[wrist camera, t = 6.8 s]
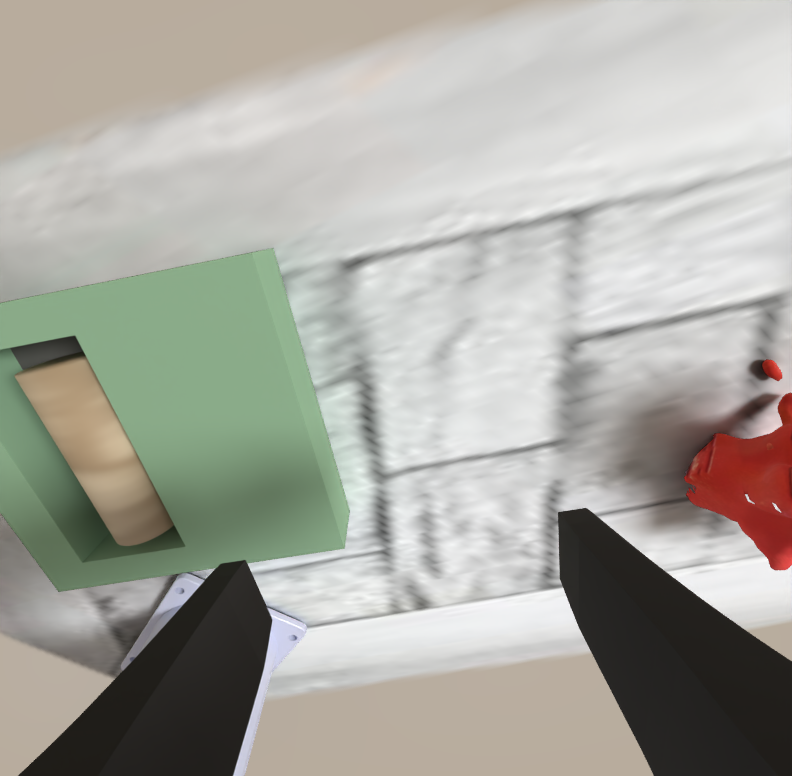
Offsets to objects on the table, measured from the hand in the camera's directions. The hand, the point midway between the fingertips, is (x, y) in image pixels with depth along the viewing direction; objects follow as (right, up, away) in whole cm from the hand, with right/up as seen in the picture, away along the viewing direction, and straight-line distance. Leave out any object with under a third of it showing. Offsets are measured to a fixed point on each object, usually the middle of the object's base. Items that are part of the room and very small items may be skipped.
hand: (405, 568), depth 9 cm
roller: (-12, +2, +8) cm, 15 cm away
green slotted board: (-11, +2, +9) cm, 14 cm away
